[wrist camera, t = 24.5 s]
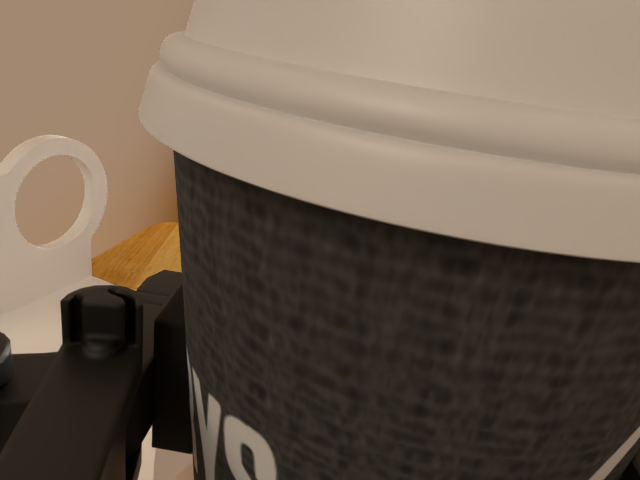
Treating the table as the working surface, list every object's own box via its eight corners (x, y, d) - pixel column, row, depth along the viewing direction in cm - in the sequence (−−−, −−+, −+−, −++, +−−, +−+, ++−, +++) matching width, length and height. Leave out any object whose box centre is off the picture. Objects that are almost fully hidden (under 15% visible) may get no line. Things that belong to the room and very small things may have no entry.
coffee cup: (347, 453, 20) (432, 8, 14) (609, 698, 14) (948, 62, 8) (72, 602, 14) (35, -64, 8) (307, 1175, 7) (831, -89, 2)
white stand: (-74, 512, 28) (-139, 161, 21) (117, 381, 39) (114, 125, 32) (149, 665, 23) (157, 267, 16) (295, 464, 34) (336, 180, 27)
